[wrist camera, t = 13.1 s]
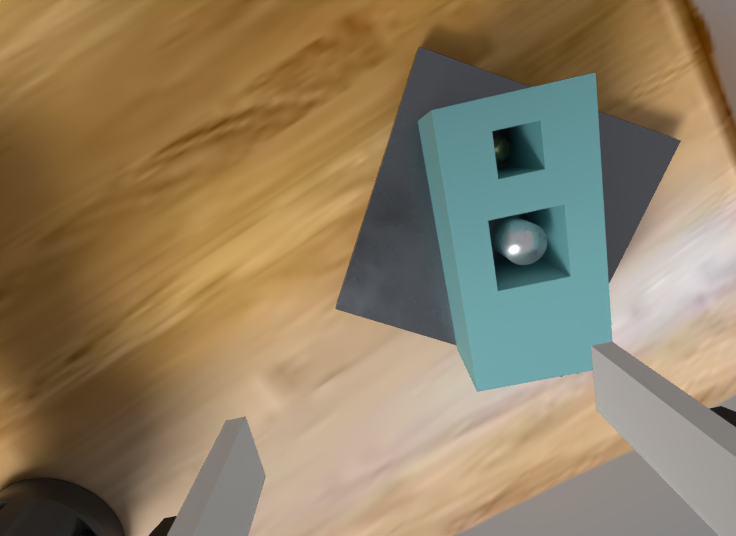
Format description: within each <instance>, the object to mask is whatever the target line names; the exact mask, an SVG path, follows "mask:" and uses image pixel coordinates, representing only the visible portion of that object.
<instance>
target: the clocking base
mask: <svg viewBox="0 0 736 536" xmlns="http://www.w3.org/2000/svg"><path fill="white" fill-rule="evenodd" d="M526 88H530V86H527V85H524V84H522V83H519V82H516V81H513V80H510V79H508V78H505V77H502V76H499V75H497V74H494V73H491V72H488V71H485V70H483V69H480V68H477V67H474V66H471V65H469V64H466V63H463V62H460V61H458V60H455V59H452V58H449V57H446V56H444V55H441V54H438V53H435V52H433V51H430V50H427V49H424V48H421V47H419V48H418V50H417V53H416V55H415V59H414V62H413V65H412V68H411V71H410V74H409V77H408V81H407V84H406V87H405V90H404V93H403V96H402V99H401V102H400V106H399V109H398V112H397V115H396V118H395V121H394V124H393V128H392V131H391V134H390V137H389V140H388V143H387V146H386V150H385V153H384V156H383V159H382V162H381V165H380V168H379V172H378V175H377V178H376V181H375V184H374V187H373V190H372V194H371V197H370V200H369V203H368V206H367V209H366V212H365V216H364V219H363V222H362V225H361V228H360V231H359V234H358V237H357V241H356V244H355V247H354V250H353V253H352V256H351V259H350V263H349V266H348V269H347V272H346V275H345V278H344V281H343V285H342V288H341V291H340V294H339V297H338V300H337V304H336V309H337V310H341V311H344V312H347V313H351V314H354V315H357V316H361V317H364V318H367V319H371V320H374V321H377V322H381V323H384V324H387V325H391V326H394V327H398V328H401V329H404V330H408V331H411V332H414V333H418V334H421V335H424V336H428V337H431V338H434V339H438V340H441V341H444V342H448V343H451V344H454V345H456V339H455V333H454V328H453V322H452V316H451V310H450V305H449V299H448V293H447V287H446V282H445V276H444V270H443V264H442V259H441V253H440V247H439V241H438V236H437V230H436V224H435V218H434V213H433V207H432V201H431V195H430V190H429V184H428V178H427V172H426V167H425V161H424V155H423V149H422V144H421V138H420V132H419V126H418V120H420V119H421V118H422V117H423V116H425V115H426V114H427V113H428V112H430V111H431V110H435V109H439V108H443V107H448V106H452V105H456V104H461V103H465V102H469V101H474V100H478V99H482V98H487V97H491V96H495V95H500V94H504V93H508V92H513V91H517V90H521V89H526ZM598 119H599V135H600V151H601V167H602V184H603V200H604V216H605V232H606V249H607V265H608V281H609V282H610V280H611V279H612V277H613V275H614V273H615V271H616V269H617V267H618V265H619V263H620V261H621V259H622V257H623V255H624V253H625V251H626V249H627V247H628V245H629V243H630V241H631V239H632V237H633V235H634V233H635V231H636V229H637V227H638V225H639V223H640V221H641V219H642V217H643V215H644V213H645V211H646V209H647V207H648V205H649V203H650V201H651V199H652V197H653V195H654V193H655V191H656V189H657V187H658V185H659V183H660V181H661V179H662V177H663V175H664V173H665V171H666V169H667V167H668V165H669V163H670V161H671V159H672V157H673V155H674V153H675V151H676V149H677V147H678V145H679V143H680V140H677V139H675V138H672V137H669V136H666V135H664V134H661V133H658V132H655V131H652V130H650V129H647V128H644V127H641V126H638V125H636V124H633V123H630V122H627V121H625V120H622V119H619V118H616V117H613V116H611V115H608V114H605V113H602V112H600V111H598ZM492 134H493V142H494V150H495V158H496V165H497V170H498V169H503V168H507V167H508V162H507V157H508V155H509V152H510V145H509V143H508V141H507V140H506V139H505V137H504V129H501V130H496V131H492ZM488 224H489V231H490V238H491V246H492V253H493V260H494V261H496V260H501V259H505V258H507V259H509V260H510V261H512V262H513V263H515V264H518V265H528V264H531V263H534V262H536V261H537V260H538V259H540V258H541V256H542V255H543V254H544V252H545V250H546V247H547V237H546V234H545V232H544V230H543V229H542V228H541V227H540V226H538V225H536V224H534V223H531V222H528V221H527V218H526V213H522V214H517V215H513V216H508V217H503V218H498V219H494V220H489V221H488ZM561 377H562V376H561Z"/></svg>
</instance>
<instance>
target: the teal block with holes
mask: <svg viewBox="0 0 736 536" xmlns="http://www.w3.org/2000/svg"><path fill="white" fill-rule="evenodd" d="M418 126H419V132H420V138H421V144H422V149H423V155H424V161H425V167H426V172H427V178H428V184H429V190H430V195H431V201H432V207H433V213H434V218H435V224H436V230H437V236H438V241H439V247H440V253H441V259H442V264H443V270H444V276H445V282H446V287H447V293H448V299H449V305H450V310H451V316H452V322H453V328H454V333H455V339H456V345H457V349H458V352H459V354H460V356H461V358H462V360H463V362H464V364H465V366H466V369H467V371H468V373H469V375H470V377H471V379H472V381H473V384H474V386H475V388H476V390H477V392H479V391H484V390H489V389H495V388H500V387H505V386H511V385H516V384H521V383H527V382H532V381H537V380H543V379H548V378H553V377H559V376H564V375H569V374H575V373H580V372H585V371H591V370H593V364H592V351H591V346H592V345H597V344H602V343H607V342H612V330H611V313H610V297H609V281H608V265H607V249H606V232H605V216H604V200H603V184H602V167H601V151H600V135H599V119H598V102H597V86H596V72H595V73H591V74H587V75H582V76H578V77H574V78H569V79H565V80H561V81H556V82H552V83H548V84H543V85H539V86H535V87H530V88H526V89H521V90H517V91H513V92H508V93H504V94H500V95H495V96H491V97H487V98H482V99H478V100H474V101H469V102H465V103H461V104H456V105H452V106H448V107H443V108H439V109H435V110H431V111H430V112H428V113H427V114H426V115H425V116H423V117H422V118H421V119H420V120H418ZM501 129H504V137H505V139H506V140H507V141H508V143H509V145H510V152H509V155H508V157H507V162H508V167H507V168H503V169H498V170H497V165H496V158H495V150H494V142H493V134H492V131H496V130H501ZM522 213H526V218H527V221H528V222H531V223H534V224H536V225H538V226H540V227H541V228H542V229H543V230H544V232H545V234H546V237H547V247H546V250H545V252H544V254H543V255H542V256H541V258H540V259H538V260H537V261H536V262H534V263H531V264H528V265H518V264H515V263H513V262H512V261H510V260H509V259H507V258H505V259H501V260H496V261H494V260H493V253H492V246H491V238H490V231H489V224H488V221H489V220H494V219H498V218H503V217H508V216H513V215H517V214H522Z"/></svg>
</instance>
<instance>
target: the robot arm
mask: <svg viewBox="0 0 736 536" xmlns="http://www.w3.org/2000/svg"><path fill="white" fill-rule="evenodd" d="M591 351H592V364H593V377H594V389H595V402H596V410H597V411H598V412H599V413H600V414H601V415H602V416H603V417H604V419H605V420H606V421H607V422H608V423H609V424H610V425H611V426H612V427H613V428H614V429H615V430H616V431H617V432H618V433H619V434H620V435H621V436H622V437H623V438H624V439H625V440H626V441H627V442H628V443H629V444H630V445H631V446H632V447H633V448H634V449H635V450H636V451H637V452H638V453H639V454H640V455H641V456H642V457H643V458H644V459H645V461H646V462H647V463H649V465H650V466H651V467H652V468H653V469H654V470H655V471H656V472H657V473H658V474H659V475H660V476H661V477H662V478H663V479H664V480H665V481H666V482H667V483H668V484H669V485H670V486H671V487H672V488H673V489H674V490H675V491H676V492H677V493H678V494H679V495H680V496H681V497H682V498H683V499H684V500H685V502H686V503H688V505H689V506H691V508H692V509H693V510H694V511H695V512H696V513H697V514H698V515H699V516H700V517H701V518H702V519H703V520H704V521H705V522H706V523H707V524H708V525H709V526H710V527H711V528H712V529H713V530H714V531H715V532H716V533H717V534H718V535H719V536H736V412H735V411H732V410H729V409H727V408H724V407H722V406H720V407H715V408H710V409H709V408H707V407H706V406H704V405H703V404H701V403H700V402H698V401H697V400H696V399H694V398H693V397H691V396H690V395H688V394H687V393H685V392H684V391H683V390H681V389H680V388H678V387H677V386H675V385H674V384H672V383H671V382H670V381H668V380H667V379H665V378H664V377H662V376H661V375H659V374H658V373H657V372H655V371H654V370H652V369H651V368H649V367H648V366H646V365H645V364H644V363H642V362H641V361H639V360H638V359H636V358H635V357H633V356H632V355H631V354H629V353H628V352H626V351H625V350H623V349H622V348H620V347H619V346H618V345H616V344H615V343H613V342H607V343H602V344H597V345H592V346H591ZM265 477H266V476H265V473H264V470H263V467H262V464H261V461H260V458H259V455H258V452H257V449H256V446H255V443H254V440H253V437H252V434H251V431H250V428H249V425H248V422H247V419H246V417H242V418H237V419H232V420H227V421H226V422H225V424H224V426H223V428H222V430H221V431H220V433H219V435H218V437H217V439H216V441H215V443H214V445H213V447H212V449H211V451H210V453H209V455H208V457H207V459H206V461H205V463H204V464H203V466H202V468H201V470H200V472H199V474H198V476H197V478H196V480H195V482H194V484H193V486H192V488H191V490H190V492H189V494H188V496H187V497H186V499H185V501H184V503H183V505H182V507H181V509H180V511H179V513H178V515H177V516H174V517H169V518H164V519H163V520H162V521H161V523H160V524H159V525H158V526H157V527H156V528H155V529H154V530H153V531H152V532H151V533H150V535H149V536H248V534H249V531H250V528H251V524H252V521H253V517H254V514H255V511H256V507H257V504H258V501H259V497H260V494H261V490H262V487H263V484H264V480H265ZM0 536H124V535H123V531H122V528H121V526H120V523H119V521H118V520H117V518H116V516H115V515H114V513H113V512H112V511H111V510H110V509H109V507H108V506H107V505H106V504H105V503H103V502H102V501H101V500H100V499H99V498H97V497H96V496H95V495H93V494H92V493H90V492H88V491H86V490H85V489H83V488H80V487H78V486H76V485H73V484H70V483H67V482H63V481H59V480H53V479H30V480H24V481H20V482H17V483H14V484H12V485H10V486H8V487H6V488H5V489H3V490H2V491H1V492H0Z"/></svg>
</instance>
